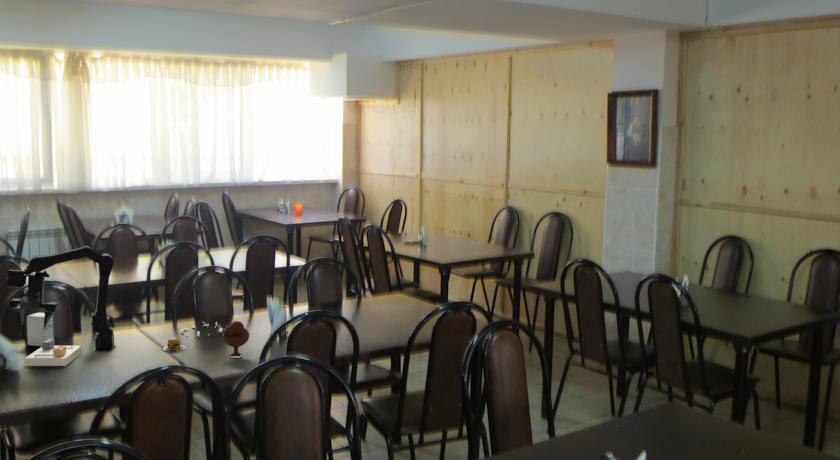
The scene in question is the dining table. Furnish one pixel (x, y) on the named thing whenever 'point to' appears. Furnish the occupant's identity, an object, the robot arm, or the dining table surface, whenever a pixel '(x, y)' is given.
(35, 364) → the fader panel
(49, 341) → the block
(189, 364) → the dining table surface
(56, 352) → the fader orange
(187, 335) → the game piece set
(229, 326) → the ice cream bowl
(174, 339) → the cake on plate
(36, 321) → the supplement box
